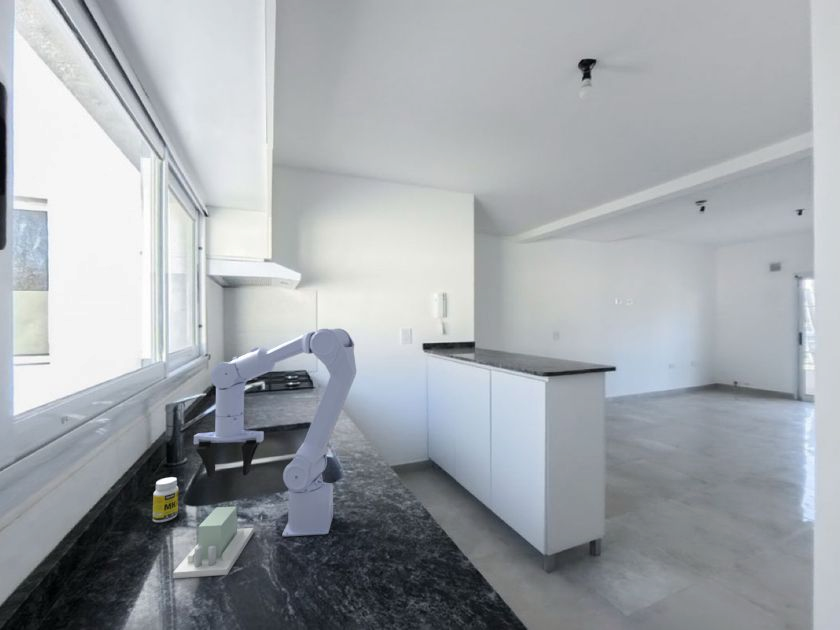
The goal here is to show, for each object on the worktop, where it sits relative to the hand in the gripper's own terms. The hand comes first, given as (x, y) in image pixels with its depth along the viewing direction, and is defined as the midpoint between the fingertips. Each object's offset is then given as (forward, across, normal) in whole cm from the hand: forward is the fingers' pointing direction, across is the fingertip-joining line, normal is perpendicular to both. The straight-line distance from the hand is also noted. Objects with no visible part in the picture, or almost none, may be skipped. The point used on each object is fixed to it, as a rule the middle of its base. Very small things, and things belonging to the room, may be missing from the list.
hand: (228, 474), depth 81 cm
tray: (+10, -3, +12) cm, 16 cm away
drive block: (+9, -3, +12) cm, 15 cm away
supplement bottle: (+11, +15, -3) cm, 19 cm away
